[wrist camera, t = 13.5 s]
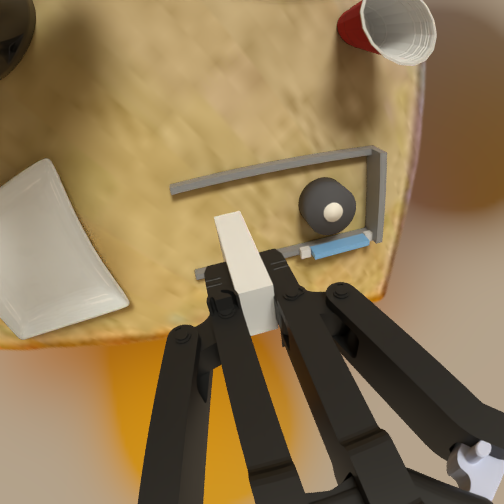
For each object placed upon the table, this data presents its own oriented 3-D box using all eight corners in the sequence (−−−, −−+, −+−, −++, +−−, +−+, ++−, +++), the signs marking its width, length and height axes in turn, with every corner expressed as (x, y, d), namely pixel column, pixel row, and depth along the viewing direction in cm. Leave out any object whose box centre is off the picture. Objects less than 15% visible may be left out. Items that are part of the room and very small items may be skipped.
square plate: (-51, 220, 35) (-62, 231, 32) (57, 148, 36) (47, 155, 33) (24, 329, 51) (19, 343, 47) (133, 292, 52) (131, 308, 48)
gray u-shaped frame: (196, 275, 52) (198, 291, 49) (169, 184, 43) (169, 195, 40) (370, 232, 55) (381, 243, 52) (372, 145, 46) (386, 152, 43)
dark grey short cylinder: (300, 227, 51) (309, 241, 48) (297, 182, 47) (307, 192, 43) (344, 218, 52) (356, 230, 49) (344, 173, 48) (357, 183, 44)
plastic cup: (336, -18, 31) (383, -36, 21) (392, 22, 35) (446, 20, 25) (306, 37, 35) (349, 30, 25) (366, 75, 39) (418, 83, 30)
